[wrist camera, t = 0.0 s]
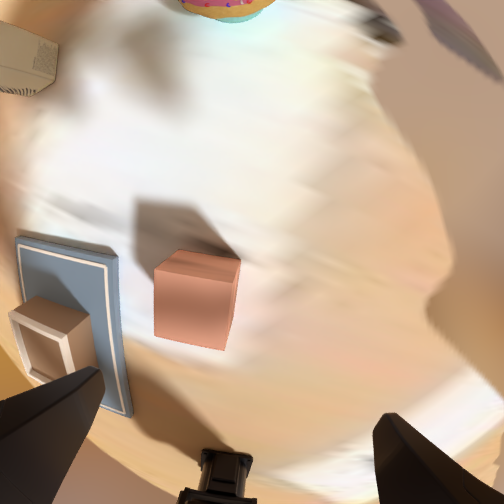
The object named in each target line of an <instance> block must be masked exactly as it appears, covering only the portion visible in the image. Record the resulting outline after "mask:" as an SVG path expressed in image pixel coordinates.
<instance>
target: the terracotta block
mask: <svg viewBox="0 0 504 504" xmlns="http://www.w3.org/2000/svg"><path fill="white" fill-rule="evenodd" d="M240 265H241V260H239V259H233V258H227V257H221V256H214V255H208V254H202V253H196V252H190V251H184V250H177V251H176V252H175V253H174V254H172V255H171V256H170V257H169V258H167V259H166V260H165V261H164V262H163V263H161V264H160V265H159V266H158V267H156V268H155V269H154V336H156V337H160V338H165V339H169V340H173V341H177V342H182V343H187V344H191V345H196V346H201V347H206V348H211V349H216V350H222V351H224V350H225V346H226V342H227V339H228V335H229V331H230V328H231V324H232V320H233V315H234V308H235V301H236V293H237V286H238V279H239V272H240Z"/></svg>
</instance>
